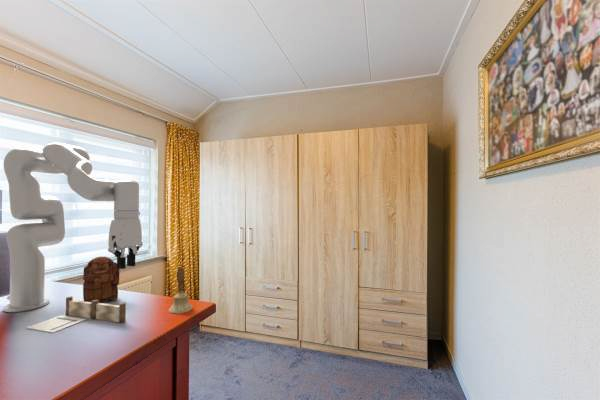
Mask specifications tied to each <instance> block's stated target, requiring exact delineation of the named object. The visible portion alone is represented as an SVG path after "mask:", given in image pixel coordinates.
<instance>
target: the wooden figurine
mask: <svg viewBox="0 0 600 400" xmlns="http://www.w3.org/2000/svg"><path fill="white" fill-rule="evenodd" d="M82 279H83V281H84V282H83V284H82V298H83V301H85V302H91V301H93V300H99V303H104V304H107V303H110V302H111V301H113V302H114V301H117V300H118V298H119V289H118V288H119V287H118V286H119V284H120V269H119V268H117V261H116V262H115V261H114V260H112V259H111V258H110V257H107V256H96V257H94V258H92V259H91V260H89V261H88V262H87V265H85V266H84V268H83V278H82Z"/></svg>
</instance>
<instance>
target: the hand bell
mask: <svg viewBox="0 0 600 400" xmlns="http://www.w3.org/2000/svg"><path fill="white" fill-rule="evenodd" d="M184 280H185V272H184V269H183V266H179V267H178V269H177V272H176V281H177V283H178V284H177V285H178V288H177V291H178V292H177V294H175V295H173V296H174V298H173V303H172V305H171V307H169V308H168V313H170V314H173V315H179V314H181V315H182V314H186V313H189V312H190V311H192V310H193V305H191V304H190V302H189V298H188V294H187V293H186V292H185V293H184V282H185V281H184Z"/></svg>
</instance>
